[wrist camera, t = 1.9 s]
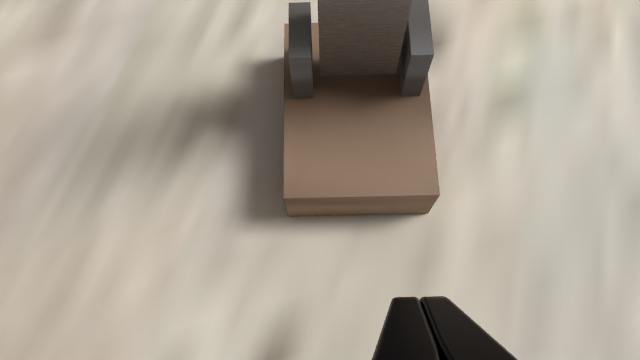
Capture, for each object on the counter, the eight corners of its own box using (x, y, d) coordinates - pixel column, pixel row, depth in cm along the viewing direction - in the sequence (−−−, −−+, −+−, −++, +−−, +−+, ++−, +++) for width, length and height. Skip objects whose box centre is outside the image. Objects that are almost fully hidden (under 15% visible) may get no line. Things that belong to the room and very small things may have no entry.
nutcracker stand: (428, 213, 22) (458, 166, 17) (288, 216, 22) (276, 170, 17) (413, 53, 25) (435, -30, 20) (288, 55, 25) (278, -26, 20)
